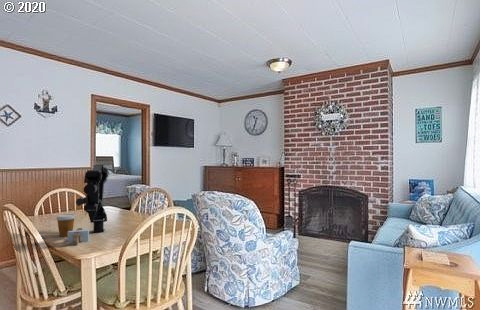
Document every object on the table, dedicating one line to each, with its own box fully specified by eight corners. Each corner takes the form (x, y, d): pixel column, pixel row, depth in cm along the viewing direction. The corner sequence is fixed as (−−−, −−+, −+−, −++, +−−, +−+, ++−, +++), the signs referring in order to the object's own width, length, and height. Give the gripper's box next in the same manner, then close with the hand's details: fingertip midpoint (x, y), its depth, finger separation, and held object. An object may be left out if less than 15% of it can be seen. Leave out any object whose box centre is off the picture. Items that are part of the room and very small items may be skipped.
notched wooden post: (78, 238, 164) (78, 228, 164) (81, 238, 165) (82, 227, 165) (72, 245, 151) (72, 234, 151) (76, 245, 152) (77, 234, 152)
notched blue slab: (68, 242, 158) (68, 231, 158) (88, 240, 161) (89, 229, 161) (67, 243, 155) (67, 232, 155) (88, 241, 159) (88, 230, 159)
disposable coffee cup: (78, 233, 175) (78, 213, 175) (69, 237, 165) (69, 217, 165) (62, 233, 175) (62, 213, 175) (52, 237, 165) (52, 217, 165)
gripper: (81, 190, 169) (80, 216, 170) (73, 195, 152) (72, 224, 152) (101, 189, 173) (101, 215, 173) (96, 194, 155) (96, 223, 155)
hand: (93, 219), depth 163 cm, fingers open, 9 cm apart
